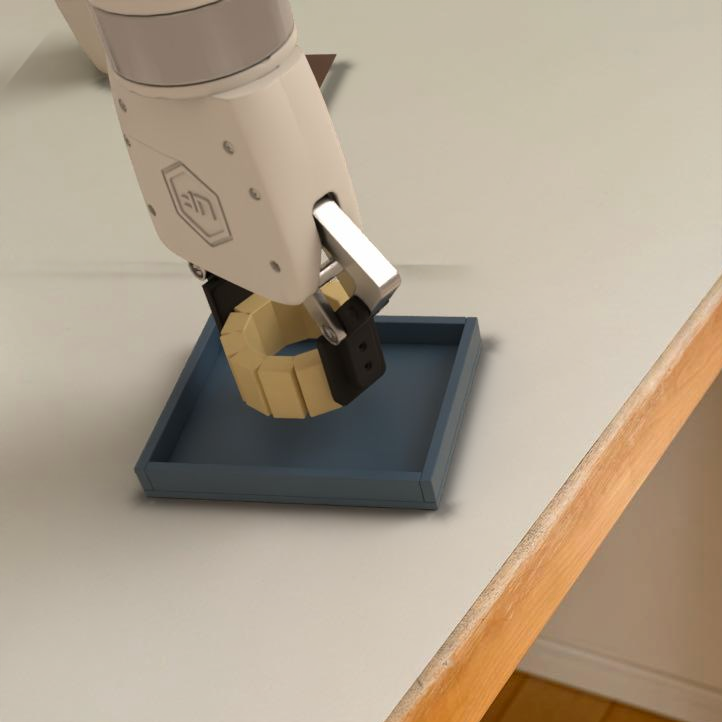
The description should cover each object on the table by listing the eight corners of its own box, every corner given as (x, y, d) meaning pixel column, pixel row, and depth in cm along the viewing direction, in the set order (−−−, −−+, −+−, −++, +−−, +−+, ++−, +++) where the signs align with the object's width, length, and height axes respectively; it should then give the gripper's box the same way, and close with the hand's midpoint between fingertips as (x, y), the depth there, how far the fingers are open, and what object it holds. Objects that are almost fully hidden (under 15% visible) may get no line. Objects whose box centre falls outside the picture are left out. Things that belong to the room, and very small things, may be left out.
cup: (201, 36, 96) (158, -99, 88) (178, 91, 91) (131, -48, 83) (99, 45, 97) (48, -88, 89) (71, 100, 91) (14, -37, 84)
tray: (146, 496, 63) (132, 469, 62) (221, 339, 71) (210, 311, 70) (438, 510, 61) (431, 481, 59) (482, 345, 68) (477, 316, 67)
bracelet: (220, 416, 62) (201, 370, 59) (262, 323, 66) (246, 277, 64) (360, 420, 60) (346, 373, 58) (393, 325, 65) (381, 278, 63)
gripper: (-9, 11, 52) (138, 342, 65) (275, 117, 44) (378, 472, 57) (131, -62, 55) (244, 266, 69) (418, 23, 47) (483, 378, 60)
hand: (304, 357), depth 63 cm, fingers closed on bracelet, 7 cm apart
